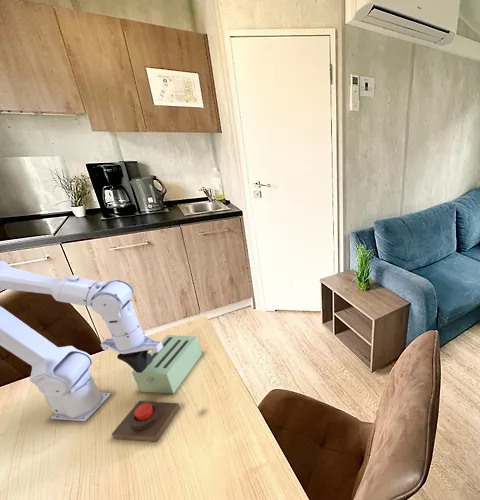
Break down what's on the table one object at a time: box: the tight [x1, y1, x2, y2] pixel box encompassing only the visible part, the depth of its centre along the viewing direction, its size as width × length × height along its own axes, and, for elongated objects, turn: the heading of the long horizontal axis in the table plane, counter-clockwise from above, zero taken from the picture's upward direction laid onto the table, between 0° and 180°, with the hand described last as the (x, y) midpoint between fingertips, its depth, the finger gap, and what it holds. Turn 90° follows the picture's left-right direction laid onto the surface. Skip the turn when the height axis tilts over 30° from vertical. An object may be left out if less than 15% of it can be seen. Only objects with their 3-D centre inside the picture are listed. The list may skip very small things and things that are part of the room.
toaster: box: [131, 334, 203, 394], centre depth 85 cm, size 10×17×8 cm, turn 176°
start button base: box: [111, 400, 181, 443], centre depth 72 cm, size 11×9×4 cm
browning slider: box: [147, 352, 152, 365], centre depth 80 cm, size 2×2×3 cm
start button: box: [134, 403, 154, 421], centre depth 71 cm, size 4×4×2 cm
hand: (141, 369), depth 75 cm, fingers closed
